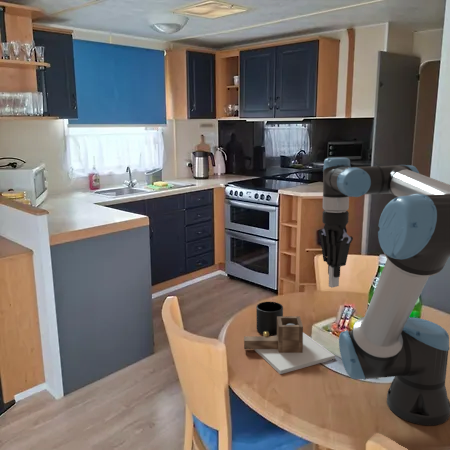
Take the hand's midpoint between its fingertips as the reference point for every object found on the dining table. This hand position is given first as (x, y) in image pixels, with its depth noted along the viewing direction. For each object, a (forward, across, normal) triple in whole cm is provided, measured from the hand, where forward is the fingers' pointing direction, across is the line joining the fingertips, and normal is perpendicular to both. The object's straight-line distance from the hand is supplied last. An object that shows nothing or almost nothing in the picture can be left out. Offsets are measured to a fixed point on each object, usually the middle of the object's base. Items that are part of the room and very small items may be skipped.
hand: (333, 286), depth 136 cm
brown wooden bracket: (+22, +13, +14) cm, 29 cm away
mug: (+23, +27, +6) cm, 36 cm away
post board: (+24, +9, +9) cm, 27 cm away
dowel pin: (+22, +16, +15) cm, 31 cm away
